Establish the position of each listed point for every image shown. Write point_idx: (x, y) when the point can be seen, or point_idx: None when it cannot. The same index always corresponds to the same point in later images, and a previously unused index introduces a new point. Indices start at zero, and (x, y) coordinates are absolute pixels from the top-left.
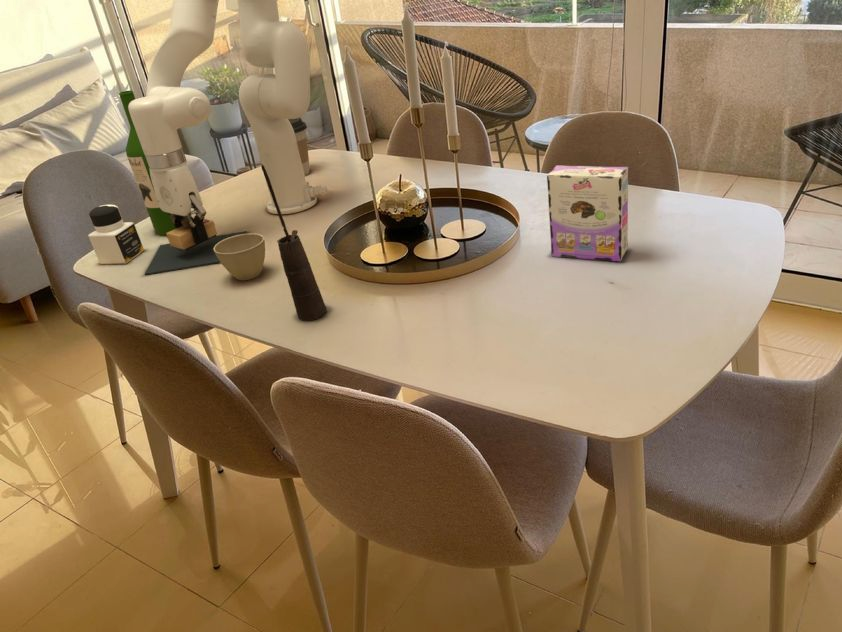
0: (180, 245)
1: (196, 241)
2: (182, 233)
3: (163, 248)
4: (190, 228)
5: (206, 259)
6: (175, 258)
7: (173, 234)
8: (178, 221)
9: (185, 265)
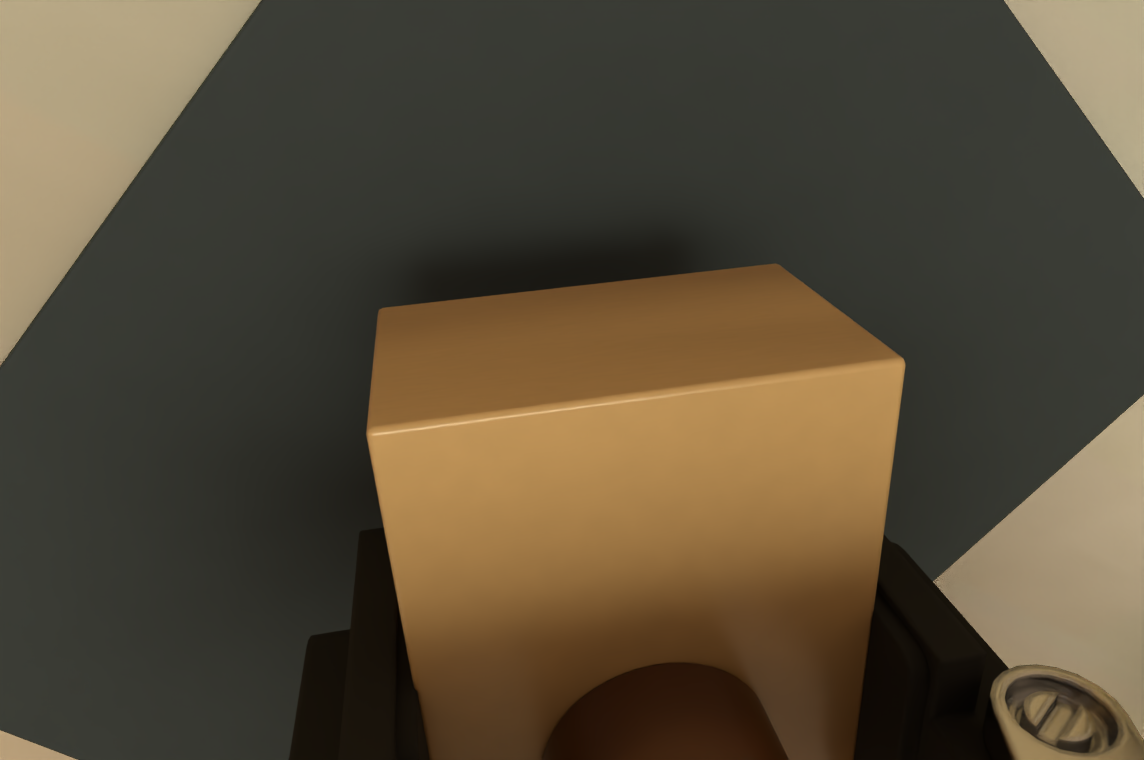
0: (453, 325)
1: (358, 561)
2: (470, 546)
3: (1110, 285)
4: (379, 745)
5: (172, 410)
6: (663, 195)
7: (635, 412)
8: (940, 748)
9: (254, 131)
